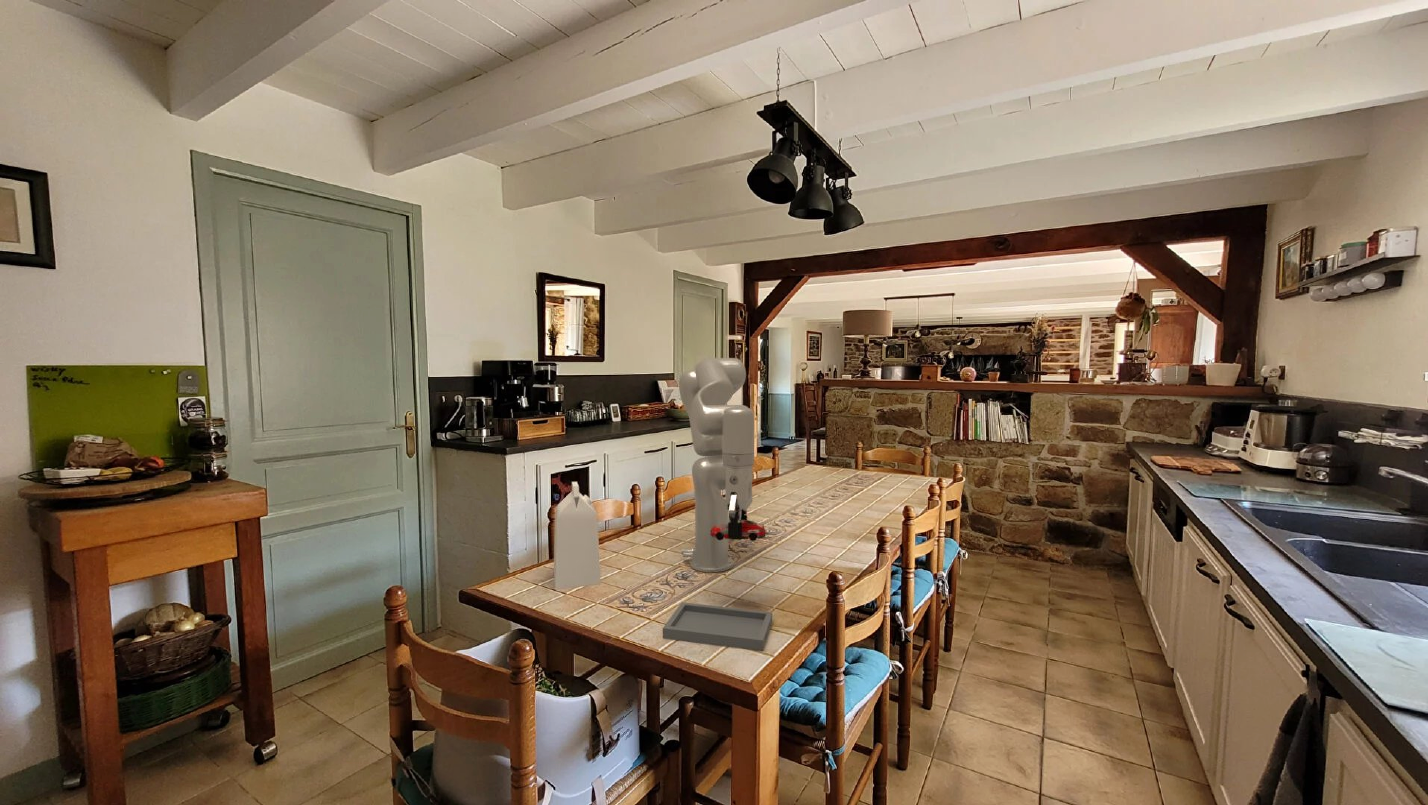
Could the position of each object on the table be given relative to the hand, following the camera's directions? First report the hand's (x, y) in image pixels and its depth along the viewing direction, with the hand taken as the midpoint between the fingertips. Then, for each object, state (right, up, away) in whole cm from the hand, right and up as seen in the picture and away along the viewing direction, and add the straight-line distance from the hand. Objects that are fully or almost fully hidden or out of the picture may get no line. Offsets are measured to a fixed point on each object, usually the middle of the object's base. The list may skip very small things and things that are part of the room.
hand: (737, 534), depth 132 cm
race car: (0, -1, 0) cm, 1 cm away
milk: (-43, -17, +18) cm, 50 cm away
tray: (-4, -18, -11) cm, 22 cm away
